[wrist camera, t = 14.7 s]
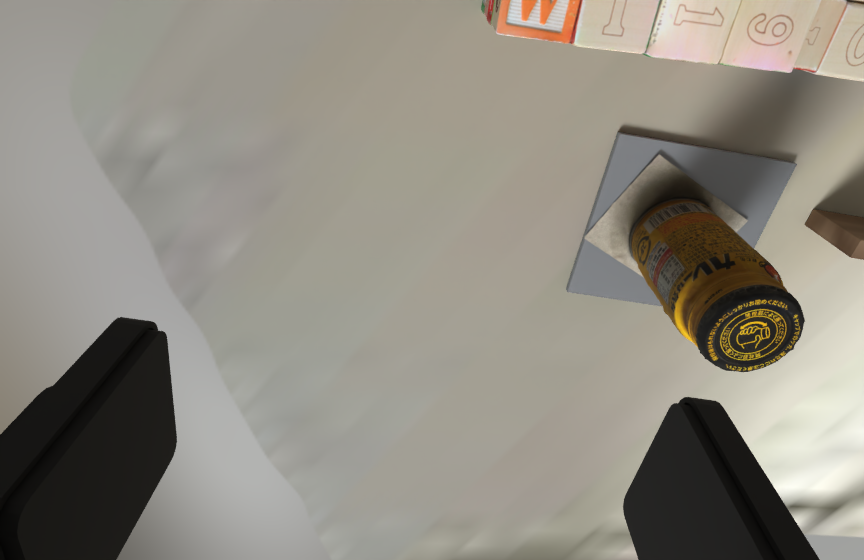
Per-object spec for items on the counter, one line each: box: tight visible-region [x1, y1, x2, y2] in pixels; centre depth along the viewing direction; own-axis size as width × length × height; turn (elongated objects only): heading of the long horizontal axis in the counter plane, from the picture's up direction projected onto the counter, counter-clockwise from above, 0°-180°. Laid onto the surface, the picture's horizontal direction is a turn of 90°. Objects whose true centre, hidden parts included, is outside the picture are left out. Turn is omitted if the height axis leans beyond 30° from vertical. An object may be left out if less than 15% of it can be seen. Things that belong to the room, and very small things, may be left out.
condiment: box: [584, 155, 805, 372], centre depth 33 cm, size 7×8×12 cm
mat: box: [566, 132, 797, 306], centre depth 39 cm, size 12×12×1 cm
